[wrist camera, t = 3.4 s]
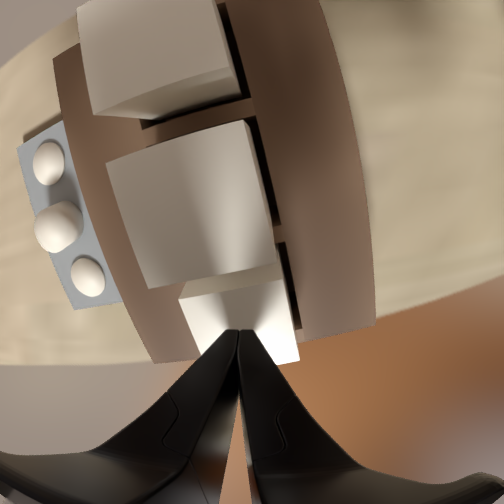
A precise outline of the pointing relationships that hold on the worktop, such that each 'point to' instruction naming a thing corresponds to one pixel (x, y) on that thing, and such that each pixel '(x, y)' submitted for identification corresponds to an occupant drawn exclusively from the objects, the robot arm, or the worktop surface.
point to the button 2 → (243, 308)
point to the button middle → (195, 205)
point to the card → (47, 201)
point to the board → (271, 165)
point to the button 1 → (155, 57)
